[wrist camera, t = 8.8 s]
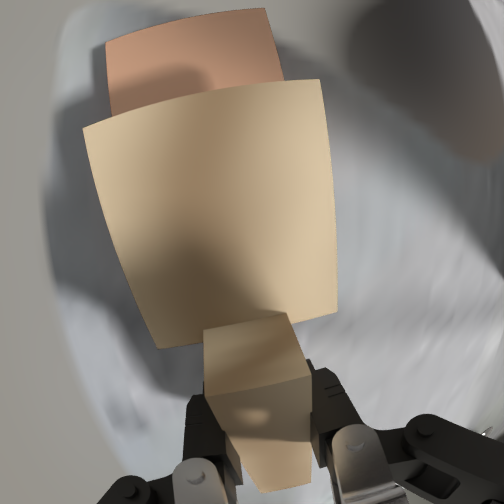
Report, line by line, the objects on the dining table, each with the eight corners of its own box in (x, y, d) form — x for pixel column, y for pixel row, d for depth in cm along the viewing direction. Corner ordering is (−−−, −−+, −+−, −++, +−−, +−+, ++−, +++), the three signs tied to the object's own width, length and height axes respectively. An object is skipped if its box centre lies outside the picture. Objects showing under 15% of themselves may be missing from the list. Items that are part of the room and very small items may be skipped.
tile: (290, 176, 13) (257, 29, 11) (304, 177, 11) (264, 7, 8) (145, 208, 12) (120, 59, 10) (130, 215, 10) (105, 42, 8)
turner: (307, 84, 7) (374, 58, 4) (323, 423, 14) (342, 473, 10) (97, 127, 6) (23, 132, 3) (222, 445, 13) (228, 497, 10)
